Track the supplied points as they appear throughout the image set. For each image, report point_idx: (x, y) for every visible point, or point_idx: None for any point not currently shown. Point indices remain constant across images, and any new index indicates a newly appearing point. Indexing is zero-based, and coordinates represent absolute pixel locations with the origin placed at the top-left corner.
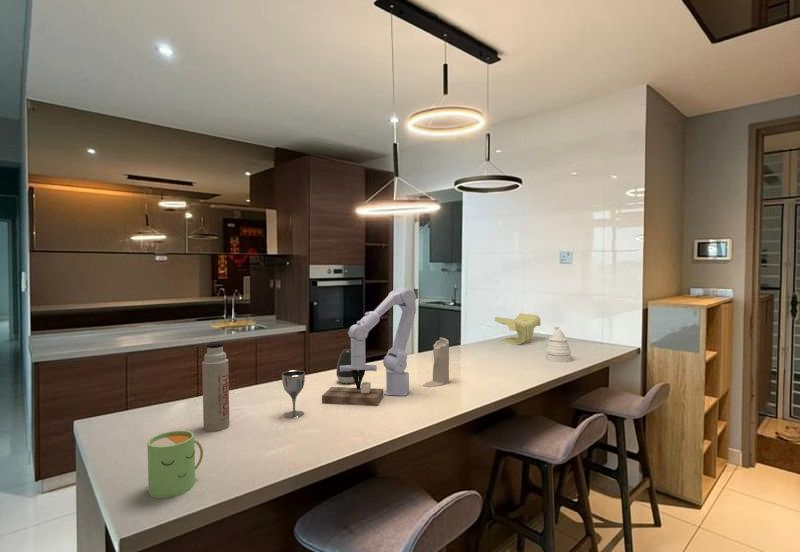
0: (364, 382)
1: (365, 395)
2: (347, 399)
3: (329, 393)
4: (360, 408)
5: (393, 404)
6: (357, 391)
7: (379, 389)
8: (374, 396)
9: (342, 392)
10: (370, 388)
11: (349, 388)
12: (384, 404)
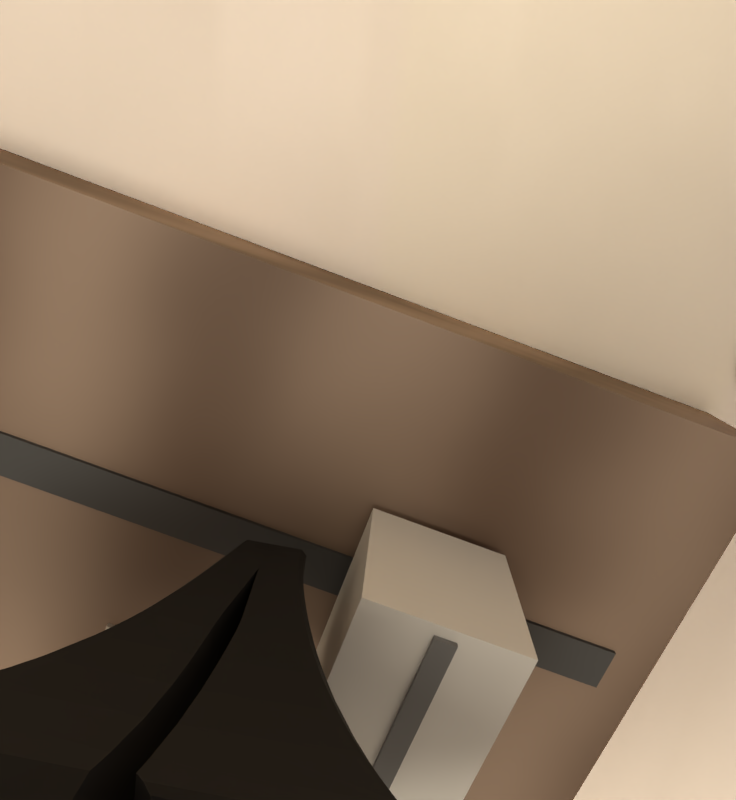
0: (388, 625)
1: None
2: None
3: None
4: None
5: (727, 759)
6: (267, 500)
7: (693, 478)
8: (510, 791)
9: (8, 494)
10: (506, 587)
11: (118, 276)
12: (615, 734)
